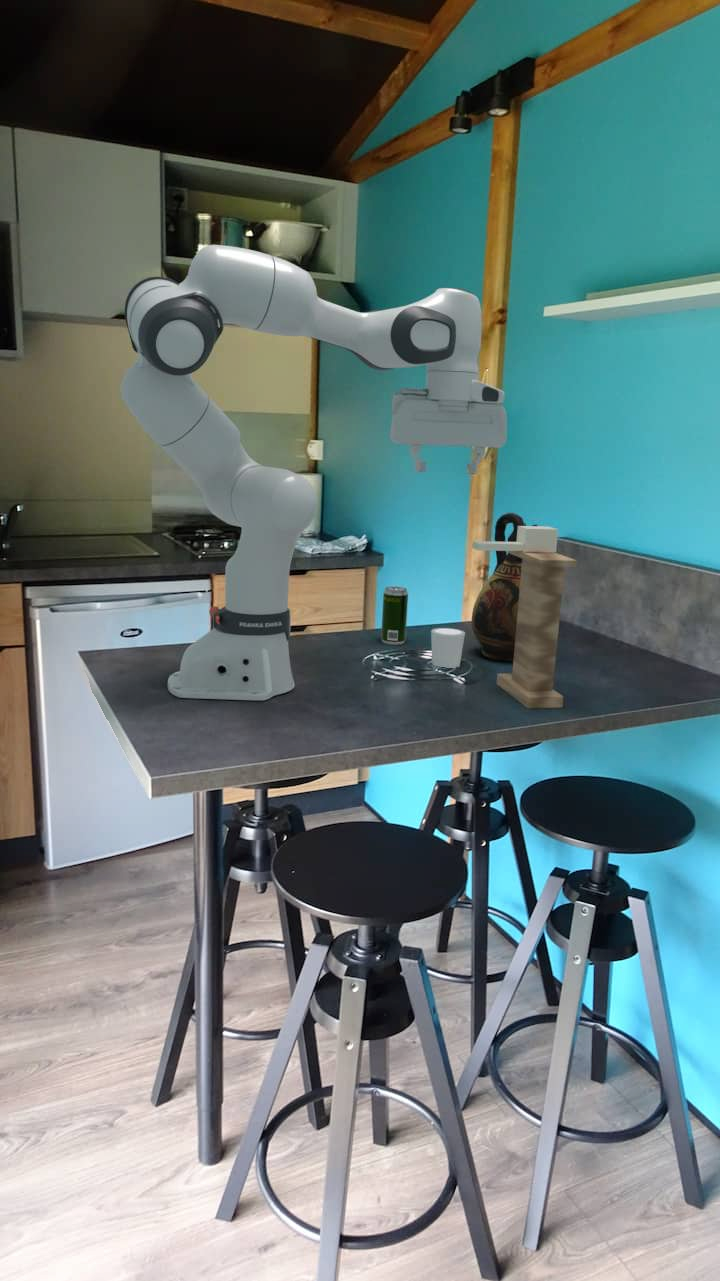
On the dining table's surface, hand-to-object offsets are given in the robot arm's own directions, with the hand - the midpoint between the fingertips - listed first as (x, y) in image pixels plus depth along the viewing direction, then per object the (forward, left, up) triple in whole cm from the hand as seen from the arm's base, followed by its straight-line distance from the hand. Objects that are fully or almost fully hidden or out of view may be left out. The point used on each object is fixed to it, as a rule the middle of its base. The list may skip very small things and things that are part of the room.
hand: (446, 472), depth 161 cm
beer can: (+2, +35, -39) cm, 53 cm away
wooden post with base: (+17, -5, -39) cm, 43 cm away
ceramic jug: (+23, +23, -39) cm, 51 cm away
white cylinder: (+8, +16, -39) cm, 43 cm away
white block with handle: (+13, -2, -13) cm, 18 cm away
